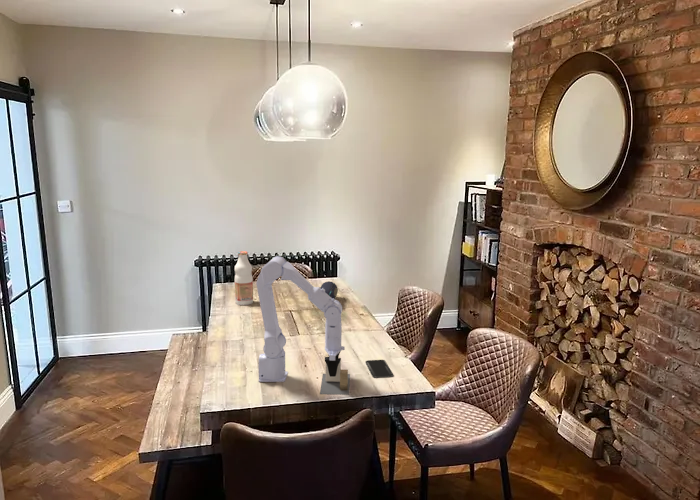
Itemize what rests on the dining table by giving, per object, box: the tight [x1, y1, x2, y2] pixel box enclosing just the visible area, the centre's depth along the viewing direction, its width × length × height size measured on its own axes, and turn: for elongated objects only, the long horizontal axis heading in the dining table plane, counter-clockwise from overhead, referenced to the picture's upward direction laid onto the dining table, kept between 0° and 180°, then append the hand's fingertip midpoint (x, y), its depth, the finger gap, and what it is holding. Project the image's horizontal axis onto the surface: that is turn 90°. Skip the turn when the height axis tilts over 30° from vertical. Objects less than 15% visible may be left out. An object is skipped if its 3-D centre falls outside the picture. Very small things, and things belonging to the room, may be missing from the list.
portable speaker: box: [320, 281, 339, 300], centre depth 272 cm, size 25×10×10 cm, turn 176°
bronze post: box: [340, 368, 349, 390], centre depth 173 cm, size 3×3×6 cm
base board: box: [319, 373, 351, 396], centre depth 177 cm, size 10×16×1 cm, turn 179°
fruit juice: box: [234, 250, 254, 306], centre depth 268 cm, size 9×9×28 cm
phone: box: [365, 359, 394, 379], centre depth 190 cm, size 8×1×15 cm
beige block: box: [325, 360, 342, 382], centre depth 180 cm, size 5×5×7 cm
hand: (333, 371), depth 180 cm, fingers open, 7 cm apart
